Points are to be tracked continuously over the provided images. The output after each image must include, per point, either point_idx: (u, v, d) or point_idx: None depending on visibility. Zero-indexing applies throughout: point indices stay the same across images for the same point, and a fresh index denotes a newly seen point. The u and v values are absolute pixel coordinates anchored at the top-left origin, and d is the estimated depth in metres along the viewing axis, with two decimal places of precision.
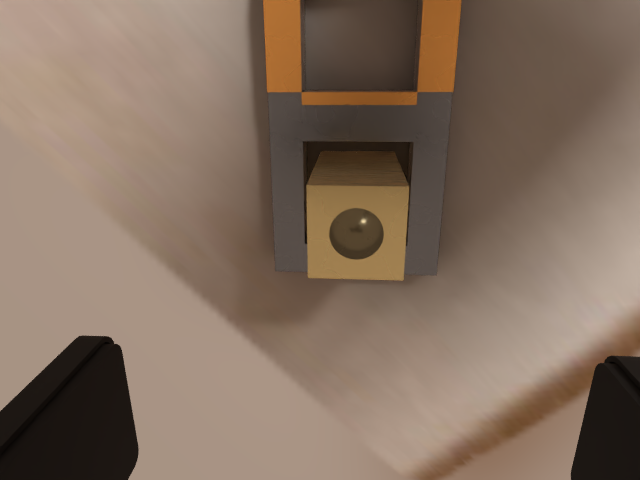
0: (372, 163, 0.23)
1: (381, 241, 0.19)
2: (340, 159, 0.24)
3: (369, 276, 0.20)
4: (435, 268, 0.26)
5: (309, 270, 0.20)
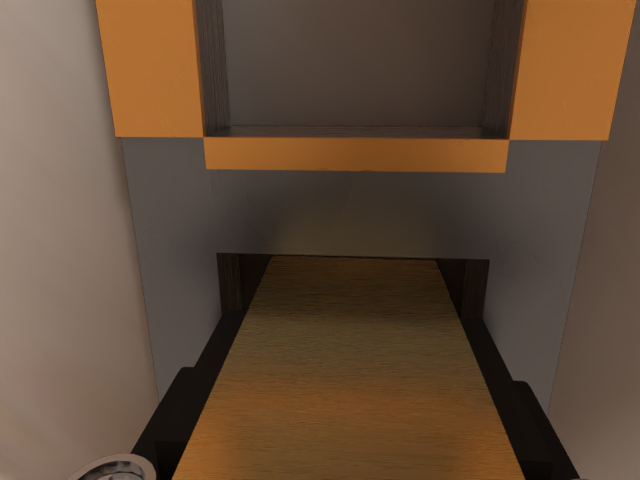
0: (391, 332, 0.08)
1: None
2: (309, 303, 0.09)
3: None
4: None
5: None
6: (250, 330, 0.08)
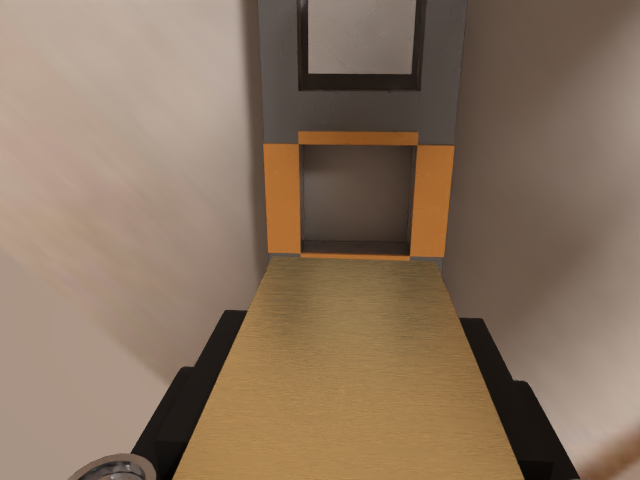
0: (391, 333, 0.08)
1: None
2: (308, 304, 0.09)
3: None
4: None
5: None
6: (250, 331, 0.08)
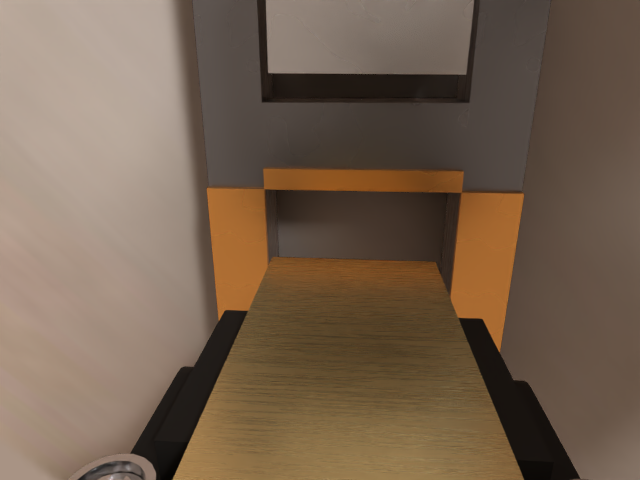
0: (392, 334, 0.08)
1: None
2: (309, 305, 0.09)
3: None
4: None
5: None
6: (250, 332, 0.08)
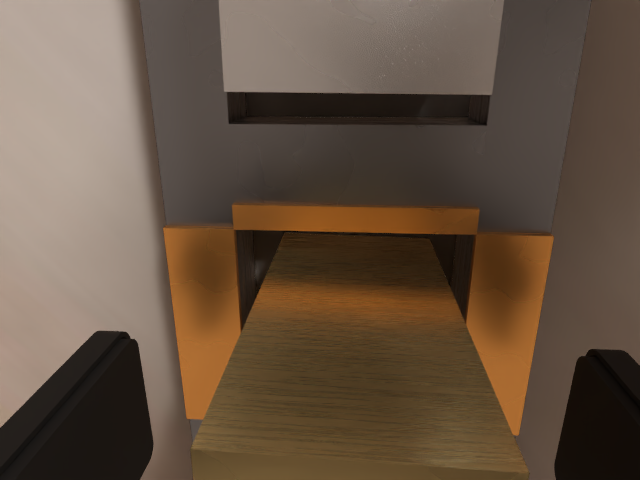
0: (390, 291, 0.10)
1: None
2: (319, 269, 0.11)
3: None
4: None
5: None
6: (270, 288, 0.10)
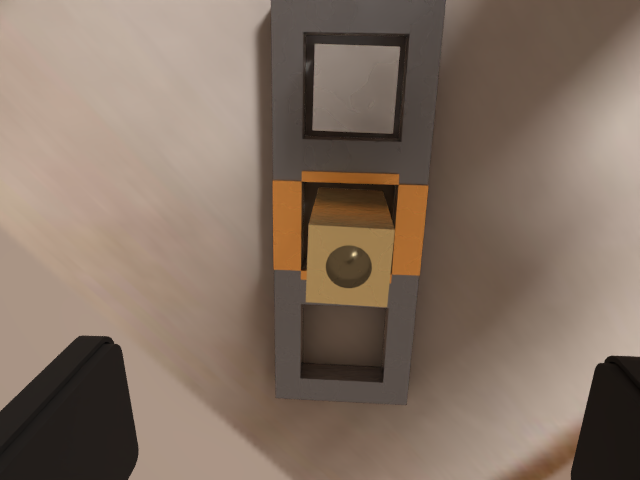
0: (363, 203, 0.26)
1: (369, 274, 0.23)
2: (336, 197, 0.27)
3: (358, 302, 0.23)
4: (405, 400, 0.32)
5: (307, 295, 0.23)
6: (318, 201, 0.26)
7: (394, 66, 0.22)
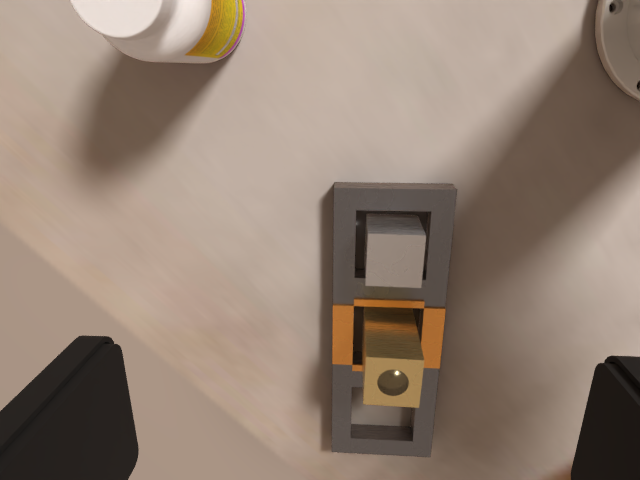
0: (399, 325, 0.37)
1: (407, 386, 0.33)
2: (379, 318, 0.38)
3: (399, 404, 0.34)
4: (429, 453, 0.43)
5: (364, 400, 0.34)
6: (367, 324, 0.37)
7: (422, 247, 0.33)
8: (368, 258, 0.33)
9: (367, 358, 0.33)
